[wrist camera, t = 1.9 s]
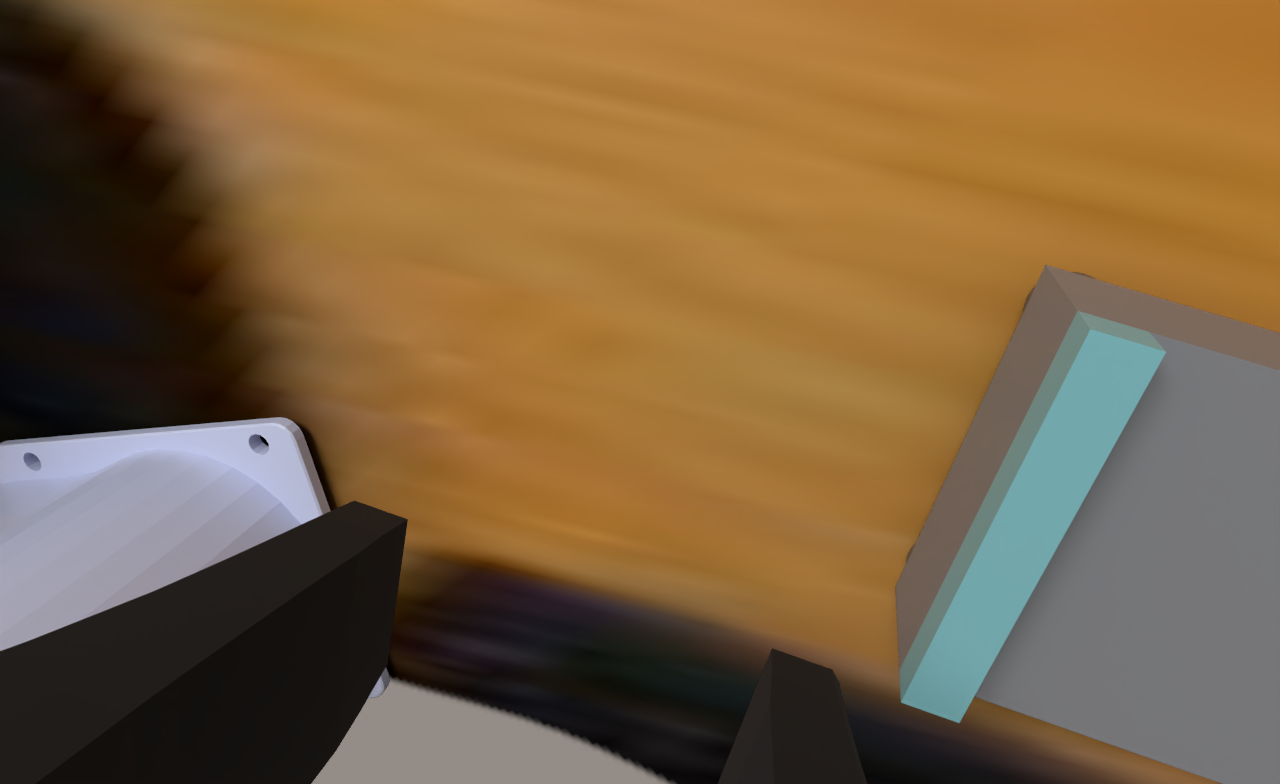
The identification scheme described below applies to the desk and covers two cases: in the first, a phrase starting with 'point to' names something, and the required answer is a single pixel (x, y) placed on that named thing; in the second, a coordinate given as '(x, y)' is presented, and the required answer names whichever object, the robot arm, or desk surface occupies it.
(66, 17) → the desk surface
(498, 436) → the desk surface
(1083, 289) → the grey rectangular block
